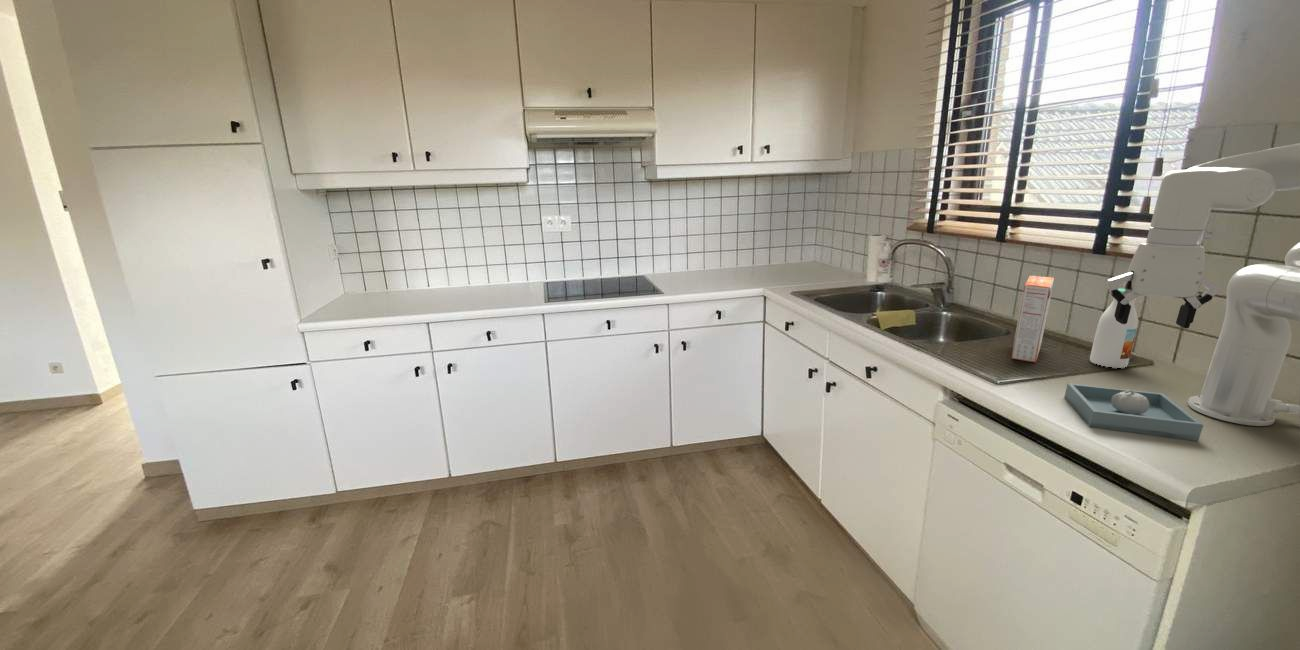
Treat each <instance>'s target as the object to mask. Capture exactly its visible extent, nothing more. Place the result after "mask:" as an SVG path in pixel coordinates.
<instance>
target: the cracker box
mask: <svg viewBox="0 0 1300 650" xmlns="http://www.w3.org/2000/svg"><path fill="white" fill-rule="evenodd" d="M1054 280H1055V278H1054V277H1051V276H1050V277H1049V276H1039V275H1029V276H1028V279H1027V280H1026V282H1025V284H1024V287H1023V292H1022V296H1021V301H1020V302H1021V303H1020V308H1019V312H1018V313H1019V314H1018V317H1017V324H1016V330H1015V335H1014V341H1013V348H1012V351H1011V353H1012V354H1011V359H1013V360H1018V361H1024V362H1029V363H1037V360H1038V357H1039V353H1040V350H1041V346H1042V342H1043V336H1044V332H1045V327H1046V324H1047V323H1046V322H1047V317H1048V313H1049V307H1050V303H1051V298H1052V293H1053V286H1054Z"/></svg>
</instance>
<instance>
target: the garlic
mask: <svg viewBox="0 0 1300 650" xmlns="http://www.w3.org/2000/svg"><path fill="white" fill-rule="evenodd" d="M1126 390H1127V391H1124V392H1120V393H1118V394H1115V395H1114V396H1113V397H1112V399H1111V403H1112V406H1113V407H1114V408H1115V409H1117V410H1118V411H1120V412H1122V413H1125V414H1131V415H1140V414H1143V413H1145V412H1146V411H1148V409H1149V401H1148V399H1147V398H1146V397H1145V396H1143V395H1141V394H1138V393H1135V392H1134V391H1133V389H1126Z"/></svg>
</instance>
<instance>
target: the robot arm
mask: <svg viewBox="0 0 1300 650" xmlns="http://www.w3.org/2000/svg"><path fill="white" fill-rule="evenodd" d="M1295 190H1300V142H1298V143H1294V144H1288V145H1282V146H1276V147H1272V148H1267V149H1263V150H1262V149H1261V150H1258V151H1253V152H1252V151H1251V152H1247V153H1241V154H1235V155H1232V156H1227V157H1226V156H1225V157H1221V158H1218V159H1215V160H1211V161H1208V162H1204V163H1201V164H1197V165H1194V166H1192V167H1189V168H1187V169H1176V170H1175V169H1174V170H1170V171H1167V172H1166V173H1165V174H1164V175H1163V177H1162V180H1161V183H1160V187H1159V191H1158V195H1157V199H1156V203H1155V207H1154V210H1153V214H1152V217H1151V222H1150V227H1149V228H1148V229H1149V230H1148V233H1147V237H1146V240H1145V241H1146V242H1140V243H1139V245H1138V246H1137V248H1136V250H1135V252H1134V255H1133V257H1132V258H1131V261H1130V264H1129V267H1128V269H1127V271H1126V273H1124V274H1120V275H1117V276H1114V277H1111V278H1109V279H1107V280H1105V285H1106V288H1107V289H1108V292H1109V294H1110V295H1111V296H1112V298H1113V297H1114V298H1115V300H1116V301H1118V302H1117V307H1116V311H1115V315H1114V317H1115V318H1116V321H1118V322H1119V323H1121V324H1127V321H1128V317H1129V313H1130V309H1131V305H1129V302H1131V301H1132V300H1134V299H1135V298H1136V297H1137V298H1138V297H1151V298H1167V299H1168V298H1169V299H1172V298H1173V299H1181V300H1182V301H1183V302H1184V304H1181V305H1180V307H1179V310H1178V314H1177V318H1176V321H1175V324H1176V325H1178V326H1179V327H1181V328H1183V329H1189V328H1190V326H1191V324H1192V323H1193V322H1194V319H1195V315H1196V313H1197V310H1198V309H1201V307H1202V306H1203V305H1205V304H1207V303H1208V302H1210V301H1212V299H1213V297H1215V296H1216V295H1217V294H1218V293H1219V292H1220V291H1221V290H1222V289H1223V288H1222V285H1219V284H1218V283H1215V282H1213V281H1212V280H1209V279H1207V278H1206V277H1203V276H1204V269H1205V258H1206V255H1205V253H1206V251H1205V246H1203V245H1202V244H1203V243H1204V241H1206V240H1211V239H1213V237H1214V235H1213V232H1208V231H1207V229H1206V228H1207V226H1208V221H1209V219H1210V215H1211V212H1212V211H1211V210H1219V211H1220V210H1221V211H1232V212H1233V211H1235V212H1236V211H1240V212H1242V211H1248V210H1252V209H1256V208H1257V207H1259V206H1262V205H1263V204H1266V202H1268V201H1269V200H1270V199H1271V198H1272V197H1273V196H1274V194H1275V192H1276V191H1277V192H1278V191H1279V192H1281V191H1295ZM1284 264H1285V265H1283V264H1278V263H1277V264H1276V263H1257V264H1256V263H1255V264H1251V265H1247V266H1244V267H1242V268H1240V269H1239V270H1238V271H1236V272H1235V273H1234V274H1233V275H1232V276H1231V278H1230V279H1229V281H1228V283H1227V288H1226V306H1225V314H1224V320H1223V323H1222V327H1221V330H1220V334H1219V337H1218V339H1217V342H1216V345H1215V348H1214V352H1213V355H1212V357H1211V361H1210V364H1209V368H1208V370H1207V374H1206V376H1205V379H1204V384H1203V386H1202V390H1201V393H1200V395H1194V396H1193V395H1192V396H1190V397H1188V401H1187V405H1188V406H1189V407H1190V408H1191V409H1192V410H1194V411H1196V412H1198V413H1200V414H1203V415H1204V416H1207V417H1210V418H1213V419H1217V420H1220V421H1223V422H1227V423H1228V422H1229V423H1234V424H1239V425H1244V426H1252V427H1267V426H1271V425H1273V424H1274V423H1275V420H1276V416H1275V415H1274V414H1278V413H1279V412H1280V413H1285V414H1291V415H1292V414H1293V415H1298V414H1300V405H1299V404H1295V403H1294V404H1293V403H1283V401H1282V400H1280V399H1273V398H1272V394H1273V391H1274V388H1275V386H1276V383H1277V380H1278V378H1279V375H1280V372H1281V369H1282V367H1283V364H1284V362H1285V358H1286V356H1287V353H1288V350H1289V348H1290V345H1291V343H1292V329H1291V325H1290V322H1289V320H1291V321H1296V322H1300V241H1299V242H1298V243H1296V244H1295V245H1294V246H1293V247H1291V248H1290V249H1289V250H1288V251H1287V253H1286V255H1285V256H1284ZM1120 284H1123V289H1125V291H1123V292H1122V293H1121V292H1120V291H1119V290H1118V289H1119V287H1118V286H1119V285H1120ZM1201 286H1203V287H1205V290H1204V291H1203V292H1202V293H1200V294H1198V293H1199V290H1200V287H1201ZM1114 298H1113V299H1114Z"/></svg>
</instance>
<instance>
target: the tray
mask: <svg viewBox="0 0 1300 650" xmlns="http://www.w3.org/2000/svg"><path fill="white" fill-rule="evenodd" d="M1127 390H1128V389H1126V388H1125V389H1124V388H1117V387H1116V388H1114V387H1105V386H1097V385H1088V384H1079V383H1078V384H1077V383H1070V382H1069V383H1067V385H1066V388H1065V392H1064V399H1065V400H1066V401H1067V403H1069V405H1070V406H1071V407H1072V408H1073V410H1075V412H1076V413H1077V415H1079V417H1080V418H1081V419H1082V420H1083V421H1084V422H1085V423H1086V424H1087V426H1088V427H1089V428H1095V429H1099V430H1100V429H1101V430H1108V431H1114V432H1115V431H1117V432H1123V431H1125V432H1124V433H1131V432H1132V434H1139V433H1141V435H1146V434H1147V435H1148V436H1154V435H1155V436H1156V437H1162V438H1163V437H1164V438H1171V439H1177V440H1178V439H1179V440H1185V441H1186V440H1187V441H1194V442H1198V441H1199V440H1200V436H1201V433H1202V431H1203V428H1204V424H1203V423H1202V422H1201V421H1200V420H1198V419H1197V418H1195V417H1194V416H1193V415H1192V414H1190V413H1189V412H1188V411H1187V410H1185V409H1184V408H1182V407H1181V405H1179V404H1177V403H1176V402H1175V401H1174V400H1173V399H1171V398H1170V397H1168V396H1167V395H1166V394H1164V393H1162V392H1152V391H1144V390H1135V389H1134V390H1133V389H1132V390H1133V391H1134V392H1135V393H1138V394H1141V395H1143V396H1145V397H1146V398H1147V399H1148V401H1149V409H1148V411H1146V412H1145V413H1143V414H1140V415H1131V414H1125V413H1122V412H1120V411H1118V410H1117V409H1115V408H1114V407H1113V406H1112V403H1111V399H1112V397H1113V396H1114V395H1115V394H1118V393H1120V392H1124V391H1127ZM1147 435H1146V436H1147Z"/></svg>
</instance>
